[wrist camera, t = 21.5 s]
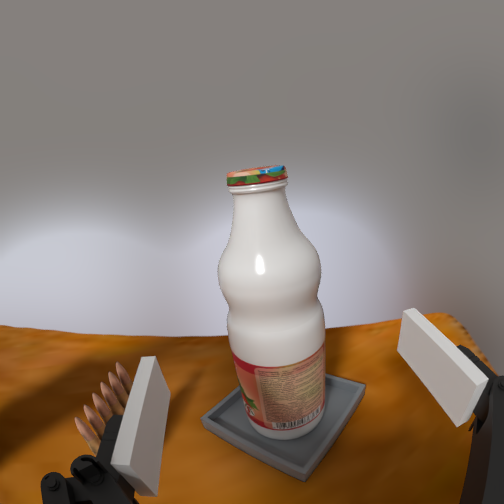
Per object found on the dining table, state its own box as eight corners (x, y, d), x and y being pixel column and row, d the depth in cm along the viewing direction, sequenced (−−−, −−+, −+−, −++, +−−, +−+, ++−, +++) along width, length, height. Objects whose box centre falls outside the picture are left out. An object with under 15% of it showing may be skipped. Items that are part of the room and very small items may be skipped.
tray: (204, 427, 32) (200, 418, 31) (273, 365, 42) (271, 355, 42) (304, 482, 23) (304, 474, 22) (364, 395, 33) (365, 384, 33)
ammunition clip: (148, 424, 33) (114, 355, 29) (161, 426, 32) (127, 357, 29) (118, 485, 23) (63, 421, 19) (131, 489, 22) (77, 426, 19)
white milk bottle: (306, 451, 26) (286, 169, 17) (233, 428, 31) (173, 183, 22) (334, 395, 34) (327, 159, 25) (269, 380, 39) (237, 168, 30)
